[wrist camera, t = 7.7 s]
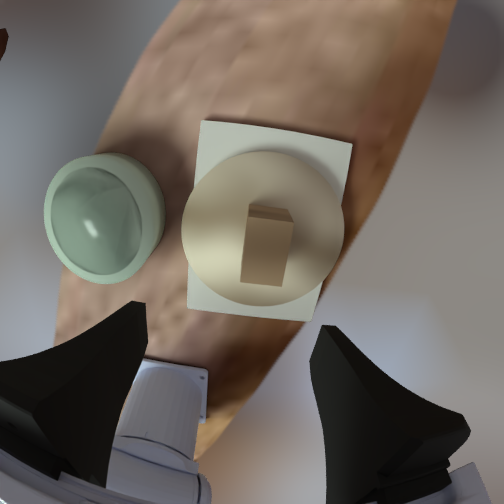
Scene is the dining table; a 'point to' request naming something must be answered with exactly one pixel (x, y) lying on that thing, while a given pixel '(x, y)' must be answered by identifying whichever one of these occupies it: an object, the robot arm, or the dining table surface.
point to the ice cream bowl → (3, 41)
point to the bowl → (104, 216)
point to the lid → (262, 228)
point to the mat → (273, 140)
